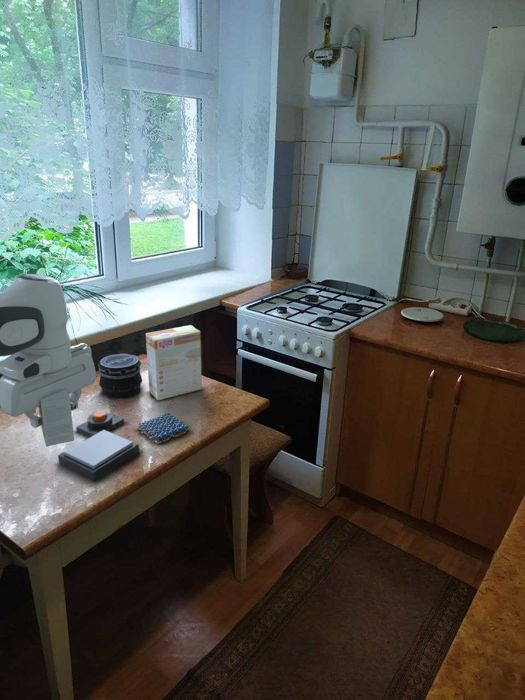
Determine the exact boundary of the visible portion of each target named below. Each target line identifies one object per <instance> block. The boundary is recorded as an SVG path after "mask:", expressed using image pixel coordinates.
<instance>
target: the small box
mask: <svg viewBox="0 0 525 700" xmlns="http://www.w3.org/2000/svg"><path fill="white" fill-rule="evenodd" d="M70 397H71V395H70V394H68V392H67V390H63V391H60V392H58V393H55V394H53V395H50V396H48V397H46V398H43V399H41V400H40V407H38V414H39V417H41V418H42V425H41V426H40V429H41V431H42V435H43V440H44V444H45V447H51V446H56V445H61V444H65V443H70V442H74V441H75V434H74V426H73V425H74V424H73V413H72V411H71V403H70Z"/></svg>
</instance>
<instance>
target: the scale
mask: <svg viewBox="0 0 525 700" xmlns="http://www.w3.org/2000/svg"><path fill="white" fill-rule="evenodd" d="M139 453H140V444H139V443H137V442H135V441H132V440H130V439H127V438H125V437H123V436H121V435H118V434H115V433H114V432H111V431H106V430H103V431H101V432H99V433H97V434H95V435H94V436H92V437H88V438H86V439H85V440H83V441H81V442H79V443H78V444H76V445H74V446H72V447H70V448H68V449H66V450H64V451H63V452H61V453H60V454H58V455H57V460H58V465H60V466H62V467H64V468H66V469H68V470H70V471H72V472H74V473H76V474H78V475H79V476H81V477H84V478H86V479H87V480H91V481H92V482H94V483H95V482H96V481H98V480H99V479H101V478H102V477H104V476H105V475H107V474H108V473H110V472H112V471H113V470H116V469H117V468H118V467H120V466H121V465H122V464H124V463H126V462H128V460H130V459H132V458H133V457H135V456H136V455H138V454H139Z"/></svg>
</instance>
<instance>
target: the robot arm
mask: <svg viewBox="0 0 525 700" xmlns="http://www.w3.org/2000/svg"><path fill="white" fill-rule="evenodd" d="M67 323H68V311H67V304H66V299H65V294H64V289H63V288H62V285H61V282H59V281H58V280H57V279H56V278H54V277H51V276H48V275H44V274H37V273H22V274H19V275H16V276H15V278H14V280H13V282H12V283H11V284H10V285H9V286H8V287H7V288H5V289H4V290H2V292H0V357H6V358H5V359H2V360H1V361H0V374H1V377H0V410H1V411H2V412H3V413H4V414H6V415H8V416H11V417H13V418H17V417H20V416H21V415H25V416H26V417H27V418H28V419H29V422H30V426H31V427H32V428H34V429H37V428H39V427H41V425H42V418H41V417H40V416H39V415H35V414H36V413H37V409H39V407H40V400H41V399H43V398H46V397H48V396H50V395H53V394H55V393H58V392H60V391H63V390H67V392H68V394H69V395H70V403H71V412H74V411H75V410H77V409H79V401H80V398H81V396H82V389H84V388H86V387H89V386H91V385H93V384H95V382H96V379H97V371H96V366H95V362H94V360H93V353H92V348H91V346H90V345H88V344H86V343H84V342H82V343H78V344H77V345H74V346H71V338H70V335H69V332H68V330H67V325H68V324H67Z"/></svg>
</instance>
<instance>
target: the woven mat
mask: <svg viewBox="0 0 525 700" xmlns="http://www.w3.org/2000/svg"><path fill="white" fill-rule="evenodd" d="M137 425H138V426H137V429H136V430H137V431H141V434H142V435H143V434H144V435H146V436H147V437H148V439H149V440H152V443H153V444H154V443H155V444H162V443H164V442H167V441H169V440H170V439H172V438H178V437H179V436H181V435H183V434H186V432H190V426H189V425H188V424H187V423H184V421H181V419H179V418H178V417H176V416H174V414H172V413H170V412H168V413H164V414H163V415H162V414H161V415H159V416H157V417H154V418H152V419H151V418H150V419H149V420H144V421H143V422H138V424H137Z"/></svg>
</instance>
